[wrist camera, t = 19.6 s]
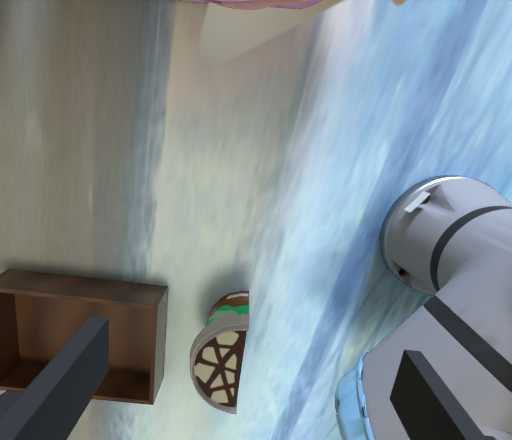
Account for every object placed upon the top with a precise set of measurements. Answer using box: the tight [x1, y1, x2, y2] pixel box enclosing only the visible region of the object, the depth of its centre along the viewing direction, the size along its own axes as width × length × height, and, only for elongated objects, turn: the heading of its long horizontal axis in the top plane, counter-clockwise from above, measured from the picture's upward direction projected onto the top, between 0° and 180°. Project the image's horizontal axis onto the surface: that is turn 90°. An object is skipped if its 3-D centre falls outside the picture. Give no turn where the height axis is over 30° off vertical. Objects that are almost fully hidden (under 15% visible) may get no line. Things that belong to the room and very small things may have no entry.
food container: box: [190, 291, 249, 414], centre depth 39 cm, size 12×6×10 cm, turn 172°
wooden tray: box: [0, 269, 168, 405], centre depth 42 cm, size 21×15×5 cm
